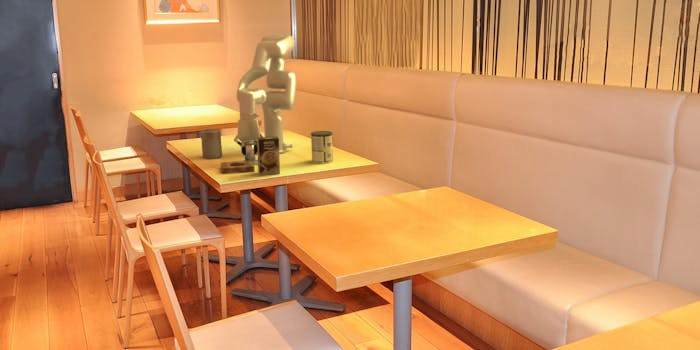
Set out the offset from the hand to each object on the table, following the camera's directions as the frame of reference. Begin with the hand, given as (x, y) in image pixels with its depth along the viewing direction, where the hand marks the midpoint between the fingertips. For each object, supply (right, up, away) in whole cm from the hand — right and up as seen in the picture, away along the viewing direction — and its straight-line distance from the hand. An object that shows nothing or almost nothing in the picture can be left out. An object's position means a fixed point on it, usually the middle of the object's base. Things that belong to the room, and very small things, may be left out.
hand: (249, 154), depth 305 cm
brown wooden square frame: (-4, -7, -13) cm, 15 cm away
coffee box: (+12, -9, -21) cm, 26 cm away
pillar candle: (-21, -1, +16) cm, 27 cm away
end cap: (0, -3, +1) cm, 3 cm away
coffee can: (+35, -4, +2) cm, 35 cm away
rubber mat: (0, -4, +1) cm, 4 cm away
